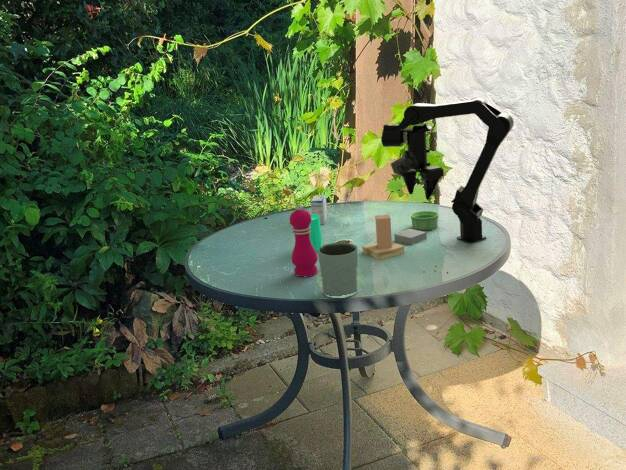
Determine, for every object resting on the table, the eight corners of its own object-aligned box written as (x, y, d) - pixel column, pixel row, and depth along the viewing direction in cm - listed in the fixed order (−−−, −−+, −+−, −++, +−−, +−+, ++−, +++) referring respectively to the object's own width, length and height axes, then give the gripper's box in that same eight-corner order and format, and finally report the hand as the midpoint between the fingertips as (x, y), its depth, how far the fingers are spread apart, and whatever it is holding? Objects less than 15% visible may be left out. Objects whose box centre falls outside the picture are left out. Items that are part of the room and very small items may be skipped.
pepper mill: (299, 280, 185) (291, 209, 179) (289, 272, 192) (282, 204, 186) (323, 274, 188) (316, 204, 182) (312, 267, 194) (306, 199, 188)
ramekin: (426, 221, 227) (426, 209, 226) (444, 227, 220) (444, 214, 219) (405, 227, 223) (404, 214, 222) (423, 233, 216) (422, 219, 214)
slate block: (426, 239, 210) (426, 232, 209) (411, 245, 206) (411, 237, 205) (409, 236, 215) (409, 228, 214) (394, 241, 211) (394, 234, 210)
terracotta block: (390, 243, 202) (388, 214, 199) (392, 247, 198) (390, 218, 196) (376, 244, 202) (375, 215, 199) (378, 248, 198) (376, 219, 196)
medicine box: (315, 218, 244) (313, 195, 241) (327, 218, 243) (325, 194, 240) (312, 225, 236) (310, 201, 234) (325, 224, 235) (323, 200, 233)
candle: (323, 245, 212) (320, 209, 209) (321, 252, 206) (318, 214, 203) (304, 247, 213) (300, 210, 209) (302, 253, 207) (298, 215, 204)
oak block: (404, 254, 199) (404, 246, 198) (379, 261, 195) (378, 253, 194) (387, 247, 207) (387, 239, 206) (362, 254, 203) (362, 246, 202)
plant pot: (330, 284, 180) (326, 241, 176) (366, 286, 176) (363, 242, 172) (315, 298, 171) (311, 254, 168) (353, 301, 167) (349, 255, 164)
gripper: (377, 147, 208) (381, 196, 213) (412, 154, 192) (414, 207, 197) (408, 141, 213) (410, 189, 217) (444, 148, 197) (445, 200, 201)
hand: (419, 196), depth 208 cm, fingers open, 9 cm apart
